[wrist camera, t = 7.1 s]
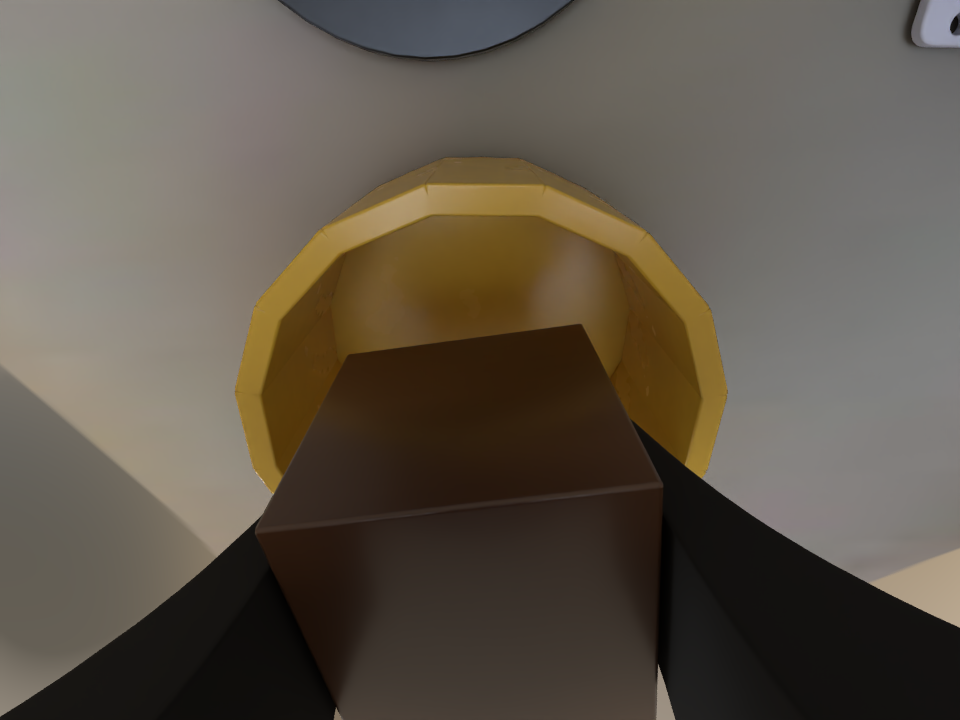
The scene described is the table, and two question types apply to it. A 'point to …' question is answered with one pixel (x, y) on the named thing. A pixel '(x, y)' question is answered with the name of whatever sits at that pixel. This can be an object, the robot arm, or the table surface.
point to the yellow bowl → (481, 300)
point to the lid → (427, 24)
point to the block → (474, 535)
